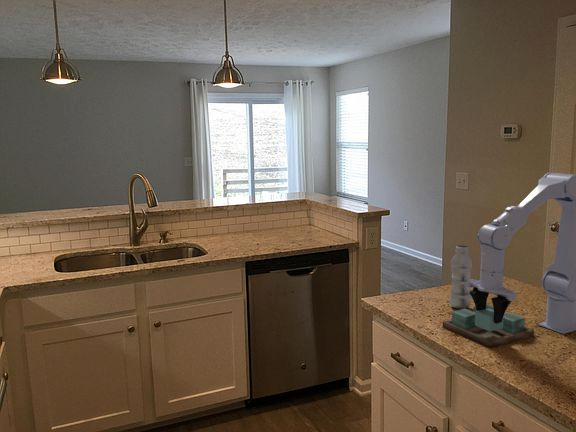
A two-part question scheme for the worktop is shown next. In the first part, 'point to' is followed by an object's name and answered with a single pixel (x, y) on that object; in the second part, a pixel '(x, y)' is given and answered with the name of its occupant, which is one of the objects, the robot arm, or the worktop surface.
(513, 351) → the worktop surface
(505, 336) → the puzzle tray
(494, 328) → the teal block
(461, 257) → the plastic bottle
